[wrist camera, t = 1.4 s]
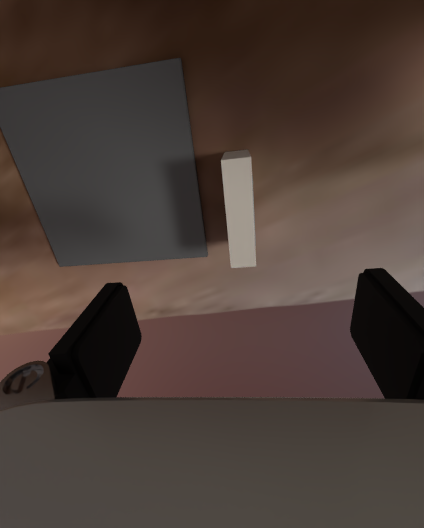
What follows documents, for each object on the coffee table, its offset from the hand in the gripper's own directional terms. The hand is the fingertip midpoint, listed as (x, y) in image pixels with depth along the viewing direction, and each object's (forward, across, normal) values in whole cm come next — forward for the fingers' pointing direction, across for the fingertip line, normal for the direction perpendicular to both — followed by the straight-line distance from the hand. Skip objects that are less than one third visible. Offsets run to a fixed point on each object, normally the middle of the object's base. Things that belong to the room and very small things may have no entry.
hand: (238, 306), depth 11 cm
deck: (+18, 0, 0) cm, 18 cm away
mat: (+18, +13, -3) cm, 23 cm away
